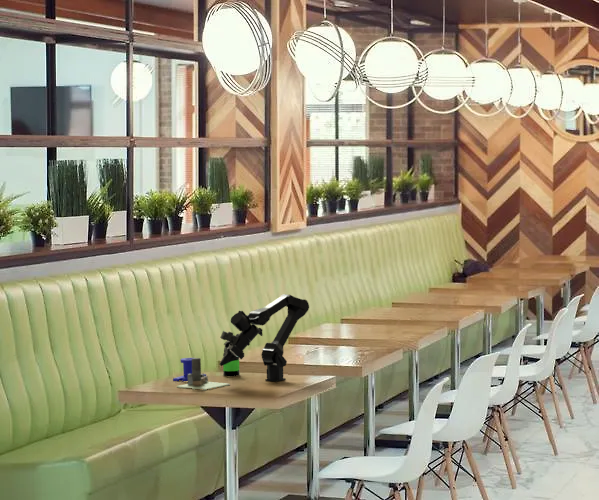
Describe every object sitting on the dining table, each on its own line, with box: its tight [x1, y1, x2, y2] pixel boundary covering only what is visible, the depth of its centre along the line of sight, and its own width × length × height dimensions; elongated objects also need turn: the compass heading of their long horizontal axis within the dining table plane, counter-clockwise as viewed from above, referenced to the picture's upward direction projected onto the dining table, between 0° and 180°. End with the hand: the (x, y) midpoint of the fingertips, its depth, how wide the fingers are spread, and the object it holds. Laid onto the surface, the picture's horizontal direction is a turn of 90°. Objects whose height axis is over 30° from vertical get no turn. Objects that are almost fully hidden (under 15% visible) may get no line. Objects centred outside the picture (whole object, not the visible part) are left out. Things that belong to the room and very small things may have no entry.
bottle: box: [222, 345, 241, 377], centre depth 533 cm, size 7×7×15 cm
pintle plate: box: [176, 381, 231, 391], centre depth 505 cm, size 16×15×1 cm
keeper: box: [187, 373, 205, 385], centre depth 506 cm, size 3×6×5 cm, turn 78°
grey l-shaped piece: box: [191, 357, 209, 386], centre depth 506 cm, size 14×4×11 cm, turn 171°
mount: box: [172, 357, 207, 382], centre depth 527 cm, size 15×8×9 cm, turn 153°
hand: (220, 365), depth 503 cm, fingers closed
